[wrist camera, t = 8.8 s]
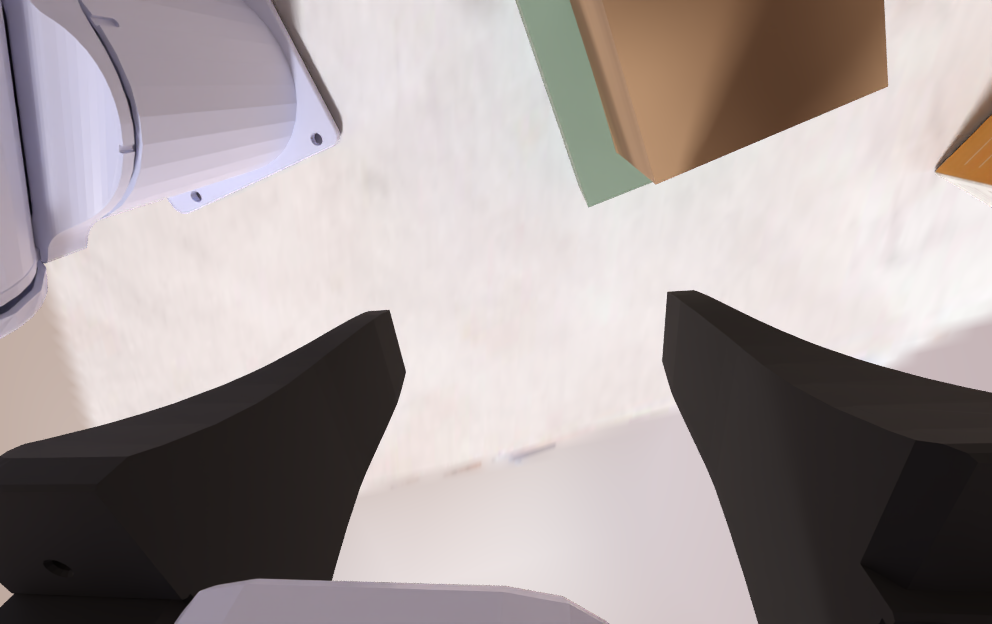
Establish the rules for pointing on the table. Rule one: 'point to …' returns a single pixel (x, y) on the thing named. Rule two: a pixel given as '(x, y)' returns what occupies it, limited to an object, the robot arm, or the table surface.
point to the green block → (577, 101)
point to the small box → (972, 165)
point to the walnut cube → (724, 71)
